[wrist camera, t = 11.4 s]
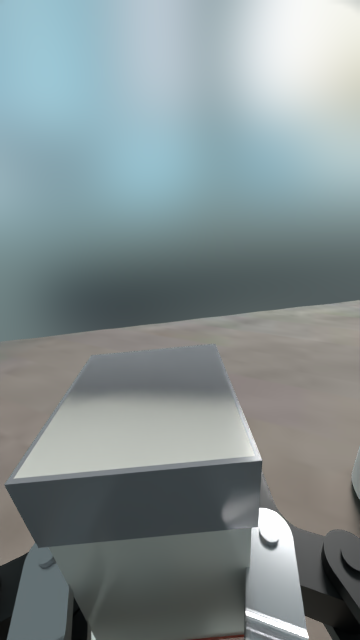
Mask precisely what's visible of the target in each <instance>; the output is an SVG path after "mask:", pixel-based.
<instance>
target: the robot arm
mask: <svg viewBox="0 0 360 640" xmlns="http://www.w3.org/2000/svg"><path fill="white" fill-rule="evenodd" d="M305 616H307V617H309V618H312V619H314V620H317V621H319V622H322V623H323V624H324V626H325V627H326V629H327V631H328V633H329V634H330V636H331V638H332V640H360V538H358V537H357V536H355V535H353V534H352V533H350V532H347V531H344V530H338V529H337V530H332V531H330V532H329V533H327V535H326V536H321V535H318V534H315V533H311V532H308V531H305V530H302V529H299V528H297V527H295V526H293V525H292V524H291V523H289V522H288V521H287V520H286V519H285V518H284V517H283V516H282V515H281V514H280V512H279V511H278V509H277V508H276V505H275V503H274V501H273V498H272V496H271V493H270V490H269V488H268V485H267V482H266V480H265V477H264V475H263V472H261V488H260V505H259V521H258V527H254V528H252V530H251V553H250V567H246V575H245V605H244V640H308V635H307V629H306V622H305ZM0 640H91V626H90V624H89V622H88V620H87V621H86V619H85V617H84V615H83V613H82V611H81V610H80V608H79V606H78V604H77V602H76V600H75V598H74V592H73V590H72V588H71V586H70V584H67V582H66V580H65V578H64V576H63V574H62V572H61V571H60V569H59V567H58V565H57V563H56V561H55V559H54V557H53V555H52V553H51V551H50V549H49V547H43V548H38V546H37V544H36V543H35V544H34V545H33V546H32V548H31V549H30V551H29V552H28V553H26V554H25V555H23V556H21V557H19V558H17V559H15V560H12V561H10V562H8V563H6V564H4V565H2V566H0Z"/></svg>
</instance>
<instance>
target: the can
mask: <svg viewBox="0 0 360 640" xmlns="http://www.w3.org/2000/svg"><path fill="white" fill-rule="evenodd" d="M352 484H353V487H354V490H355V492H356V494H357V496H358V498H359V499H360V447H359V450H358V453H357V457H356V460H355V464H354V467H353V470H352Z"/></svg>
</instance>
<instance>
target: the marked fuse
mask: <svg viewBox="0 0 360 640" xmlns="http://www.w3.org/2000/svg"><path fill="white" fill-rule="evenodd" d="M261 472H262V459H261V456H260V454H259V451H258V449H257V446H256V444H255V441H254V439H253V436H252V434H251V431H250V429H249V426H248V424H247V421H246V419H245V417H244V414H243V412H242V409H241V407H240V404H239V402H238V399H237V397H236V394H235V392H234V389H233V387H232V384H231V382H230V379H229V377H228V374H227V372H226V369H225V367H224V364H223V362H222V359H221V357H220V354H219V352H218V350H217V347H216V345H215V344H208V345H197V346H187V347H176V348H165V349H154V350H144V351H133V352H122V353H112V354H101V355H91V357H90V358H89V360H88V361H87V363H86V364H85V366H84V367H83V369H82V370H81V372H80V373H79V375H78V376H77V378H76V379H75V381H74V382H73V384H72V385H71V387H70V388H69V389H68V391H67V392H66V394H65V395H64V397H63V398H62V400H61V401H60V403H59V404H58V406H57V407H56V409H55V410H54V412H53V413H52V415H51V416H50V418H49V419H48V421H47V422H46V424H45V425H44V427H43V428H42V430H41V431H40V433H39V434H38V435H37V437H36V438H35V440H34V441H33V443H32V444H31V446H30V447H29V449H28V450H27V452H26V453H25V455H24V456H23V458H22V459H21V461H20V462H19V464H18V465H17V467H16V468H15V470H14V471H13V473H12V474H11V476H10V477H9V479H8V480H7V482H6V483H5V484H4V485H5V487H6V489H7V491H8V493H9V494H10V496H11V498H12V500H13V502H14V504H15V506H16V507H17V509H18V511H19V513H20V515H21V517H22V518H23V520H24V522H25V524H26V526H27V528H28V530H29V531H30V533H31V535H32V537H33V539H34V541H35V542H36V544H37V546H38V548H43V547H49V549H50V551H51V553H52V555H53V557H54V559H55V561H56V563H57V565H58V567H59V569H60V571H61V572H62V574H63V576H64V578H65V580H66V582H67V584H70V586H71V588H72V590H73V592H74V598H75V600H76V602H77V604H78V606H79V608H80V610H81V611H82V613H83V615H84V617H85V619H86V621H87V620H88V622H89V624H90V626H91V631H92V633H93V635H94V637H95V639H96V640H244V605H245V575H246V567H250V553H251V530H252V528H254V527H258V521H259V505H260V488H261Z"/></svg>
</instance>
